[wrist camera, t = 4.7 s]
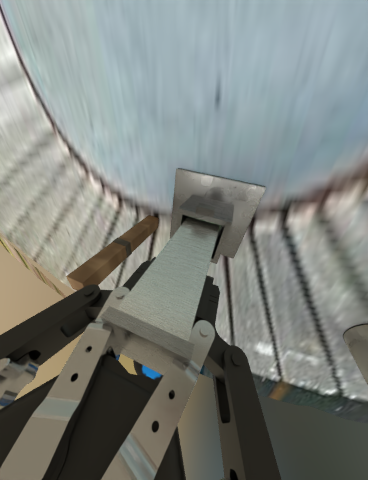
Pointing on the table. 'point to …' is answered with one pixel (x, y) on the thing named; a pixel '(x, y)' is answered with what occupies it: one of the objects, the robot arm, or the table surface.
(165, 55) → the table surface
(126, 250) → the banded wooden rod
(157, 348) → the grey-green long block
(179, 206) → the stand base
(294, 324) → the table surface
